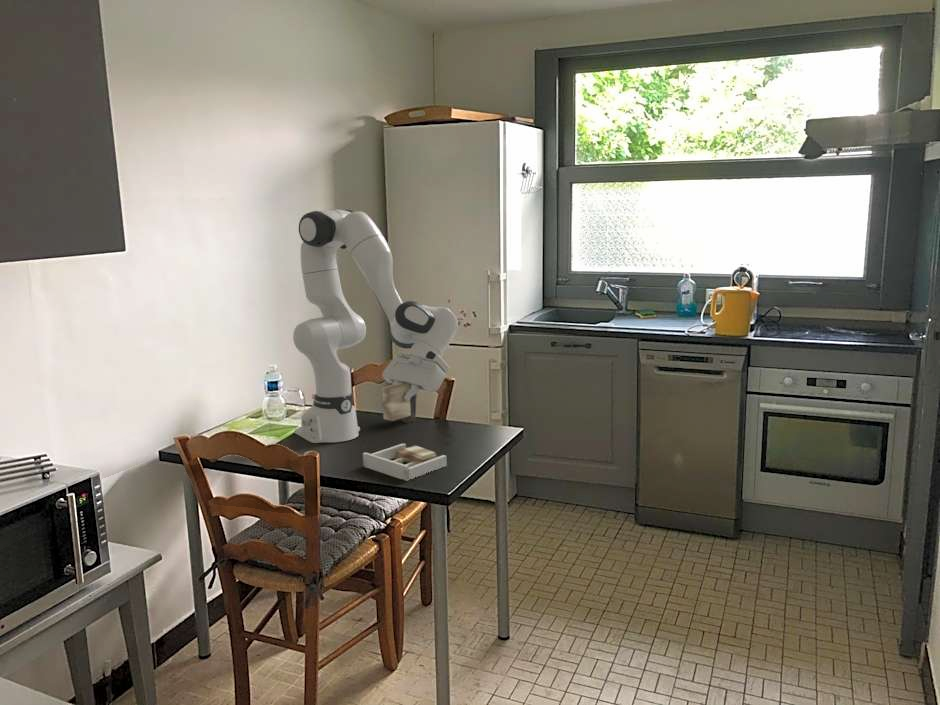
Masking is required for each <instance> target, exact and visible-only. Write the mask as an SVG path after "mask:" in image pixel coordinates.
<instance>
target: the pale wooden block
mask: <svg viewBox="0 0 940 705" xmlns="http://www.w3.org/2000/svg"><path fill="white" fill-rule="evenodd" d="M409 390H410V384H406V383H397V384H390V385H385V386H383V387H381V392H382V394H381V395H382V414H383V415H382V416H383V420H387V421H391V422H395V421H397V420H400V419H401V420H402V418H404V417H408V416H411V408H410V400H409V401H405V400H403V399H402V396H403V394H404V392H405V393H407V392H408V391H409Z"/></svg>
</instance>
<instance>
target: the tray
mask: <svg viewBox="0 0 940 705" xmlns="http://www.w3.org/2000/svg"><path fill="white" fill-rule="evenodd" d="M406 447H407V444H406V443H400V444H397V445H396V444H395V445H394V446H391V447H389V448H388V447H387V448H385V449H381V450H379V451H375V452H373V453H369V452H363V453H362V462H363V463H362V465H363V466H364V468H367V469H369V470H372V471H375V472H378V473H382V474H385V475H387V476H391V477H393V478H396V479H399V480H402V479H403V481H406V482H408V481H411V480H413V479H415V477H416V478H418V476H419V477H421V476H424V475H427V474H429V473H432V472H434V470H435V471H437V470H440V469H442V467H443V468H444V467H447V466H448V462H447V461H448V460H447V455H444V454H441V455H440V456H437V457H436V458H434V459H431V460H428V461H425V462H423V463H420V464H417V465H415V462H411V463H405V464H404V462H403V458H399V459H395V455H396V451H398V450H401V449H404V448H406ZM393 459H394V460H393ZM431 471H432V472H431ZM428 472H429V473H428ZM426 473H427V474H426ZM410 479H411V480H410Z"/></svg>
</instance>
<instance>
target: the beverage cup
mask: <svg viewBox="0 0 940 705" xmlns="http://www.w3.org/2000/svg"><path fill="white" fill-rule="evenodd" d="M410 389H411V388H410ZM417 394H418V393H416V394H415V395H414V396H412V397H411V398H410V408H411V416H408V417H404V418H401V422H402V421H403V423H412V421H413V420H415V421H416V413H417V412H416V411H417V397H418V396H417Z"/></svg>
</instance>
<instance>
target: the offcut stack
mask: <svg viewBox="0 0 940 705" xmlns="http://www.w3.org/2000/svg"><path fill="white" fill-rule="evenodd" d="M436 457H438V454H436V452H435V451H432V450H429V449H427V448H425V447H421V446H418V445H412V446H410V447H407V446H406V448H404V449H401V450H398V451H396V455H395V458H394V460H396V459H399V458H403V463H406V464H408V463H411V462H415V465H417V464H420V463H423V462H425V461H428V460H431V459H434V458H436Z"/></svg>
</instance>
